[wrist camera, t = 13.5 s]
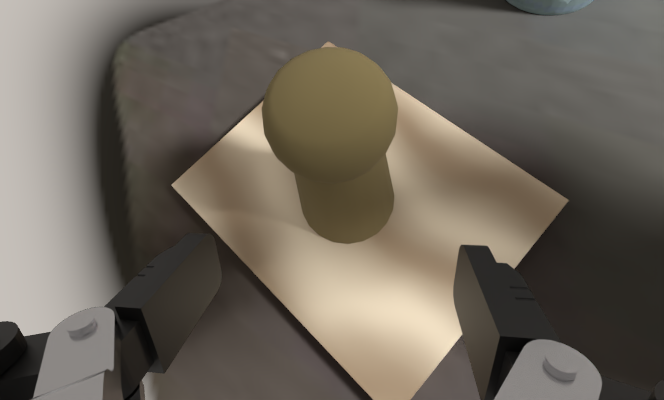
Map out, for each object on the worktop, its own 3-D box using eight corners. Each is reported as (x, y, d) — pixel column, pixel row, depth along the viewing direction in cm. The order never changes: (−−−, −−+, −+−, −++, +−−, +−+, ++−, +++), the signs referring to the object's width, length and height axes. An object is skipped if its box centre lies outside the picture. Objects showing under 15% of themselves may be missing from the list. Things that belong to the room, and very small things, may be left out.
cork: (391, 153, 22) (407, 11, 12) (397, 242, 20) (422, 163, 10) (302, 158, 23) (245, 27, 13) (299, 245, 21) (229, 173, 11)
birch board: (330, 55, 28) (328, 41, 26) (556, 208, 21) (568, 200, 20) (182, 192, 25) (171, 185, 24) (391, 413, 19) (393, 420, 17)
